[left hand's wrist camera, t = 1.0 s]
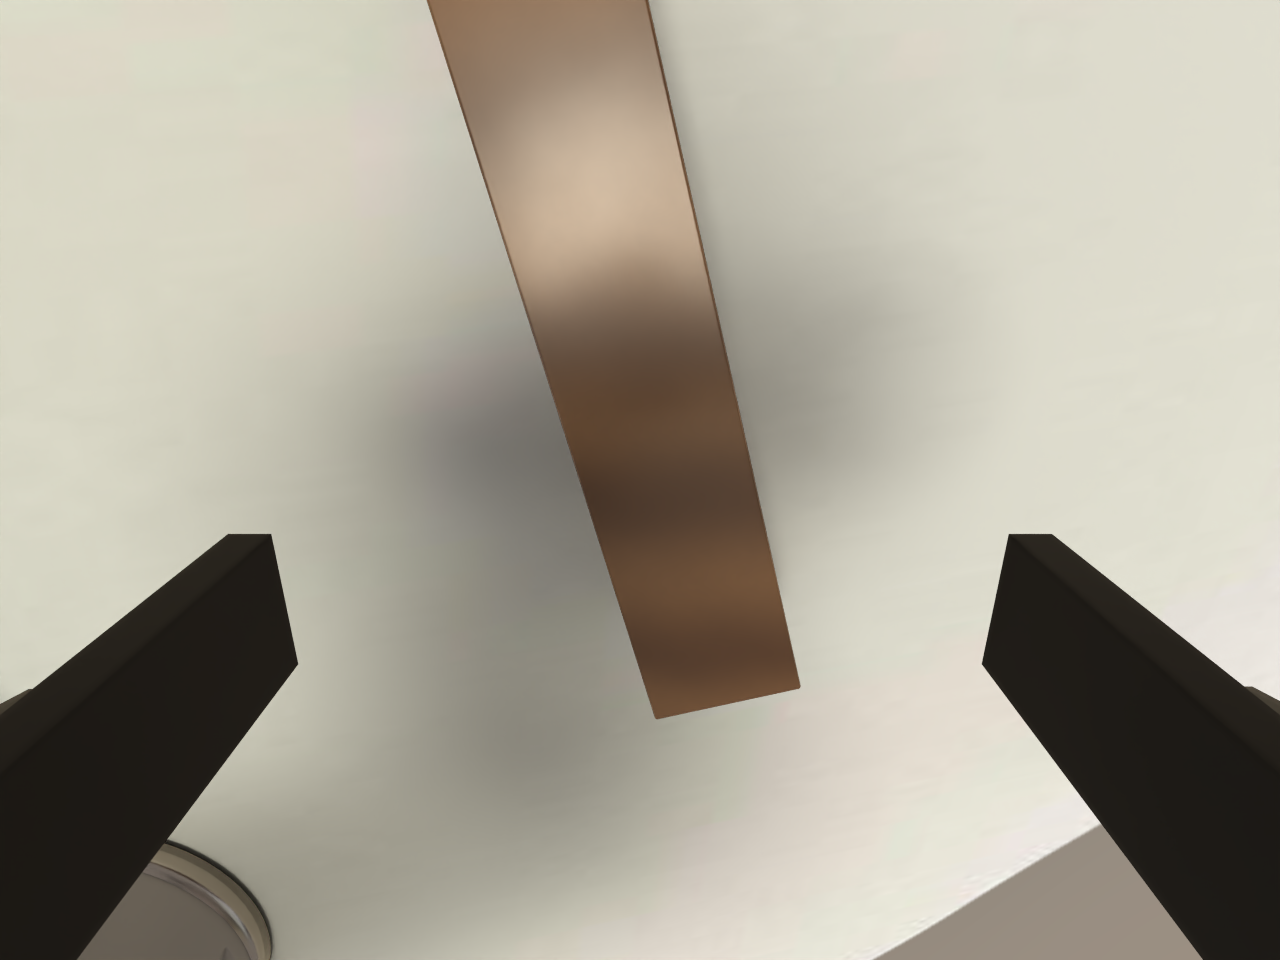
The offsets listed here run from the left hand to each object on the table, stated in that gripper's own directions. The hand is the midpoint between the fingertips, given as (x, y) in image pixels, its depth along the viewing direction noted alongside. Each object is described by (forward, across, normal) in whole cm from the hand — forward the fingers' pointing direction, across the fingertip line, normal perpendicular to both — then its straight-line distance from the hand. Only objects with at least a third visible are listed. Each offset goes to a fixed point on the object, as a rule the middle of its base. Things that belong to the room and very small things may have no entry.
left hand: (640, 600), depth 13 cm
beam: (+18, +5, -21) cm, 28 cm away
